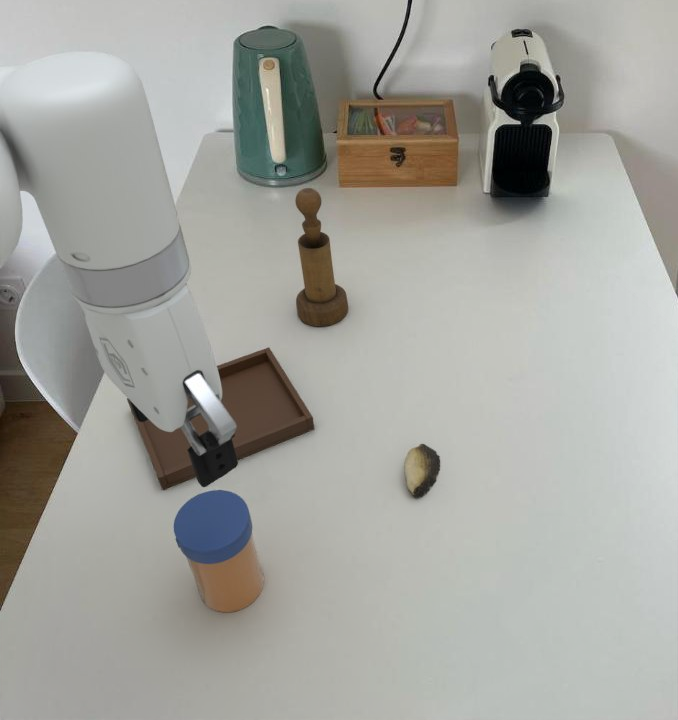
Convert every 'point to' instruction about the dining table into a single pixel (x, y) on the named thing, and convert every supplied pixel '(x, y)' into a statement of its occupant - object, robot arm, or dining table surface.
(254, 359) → the tray
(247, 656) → the dining table surface
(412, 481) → the nut kernel
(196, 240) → the dining table surface
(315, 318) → the mortar and pestle
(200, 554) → the lid
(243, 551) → the jar
